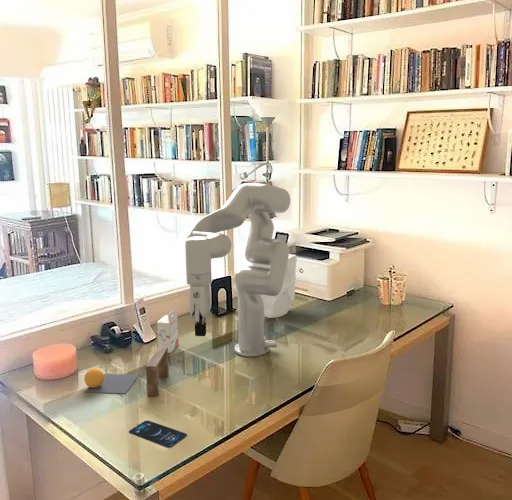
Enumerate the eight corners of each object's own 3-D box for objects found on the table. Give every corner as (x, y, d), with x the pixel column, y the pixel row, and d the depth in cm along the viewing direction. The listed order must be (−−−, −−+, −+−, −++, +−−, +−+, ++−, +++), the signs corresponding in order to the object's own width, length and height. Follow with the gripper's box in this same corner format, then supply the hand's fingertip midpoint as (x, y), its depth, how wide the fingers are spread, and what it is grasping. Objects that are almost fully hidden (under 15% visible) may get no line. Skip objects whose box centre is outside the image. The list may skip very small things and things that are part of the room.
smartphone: (146, 419, 151) (188, 434, 143) (146, 421, 151) (188, 436, 143) (126, 432, 144) (169, 448, 136) (126, 434, 144) (169, 450, 136)
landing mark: (138, 375, 178) (138, 374, 178) (125, 393, 166) (125, 393, 166) (99, 374, 179) (99, 373, 179) (84, 392, 167) (84, 391, 167)
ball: (101, 386, 173) (110, 371, 172) (94, 394, 167) (103, 379, 166) (85, 376, 173) (94, 361, 172) (77, 384, 167) (86, 369, 166)
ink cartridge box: (166, 343, 206) (164, 306, 202) (178, 344, 205) (177, 307, 201) (157, 352, 197) (156, 314, 194) (170, 353, 196) (169, 314, 193)
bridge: (168, 374, 179) (167, 347, 177) (157, 396, 164) (155, 366, 162) (159, 374, 179) (158, 347, 177) (147, 396, 164) (145, 366, 162)
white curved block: (279, 321, 229) (280, 262, 223) (231, 309, 245) (230, 254, 240) (307, 309, 245) (307, 254, 240) (260, 298, 261) (259, 246, 256)
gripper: (207, 284, 155) (208, 344, 159) (215, 271, 170) (216, 327, 174) (181, 284, 156) (183, 344, 160) (191, 271, 170) (193, 326, 174)
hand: (200, 335), depth 167 cm, fingers closed
